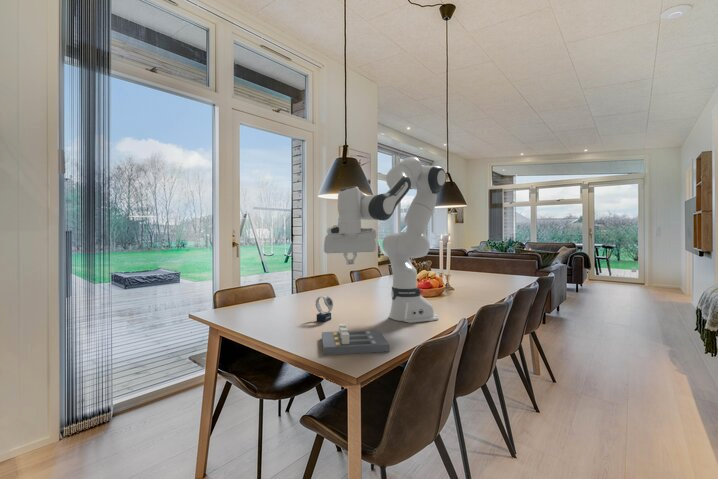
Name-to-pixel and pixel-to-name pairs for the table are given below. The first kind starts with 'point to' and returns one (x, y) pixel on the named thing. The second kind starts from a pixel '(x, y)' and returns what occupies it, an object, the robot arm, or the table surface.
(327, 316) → the watch
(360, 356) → the table surface
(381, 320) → the table surface
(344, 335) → the breaker handle
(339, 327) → the breaker handle far
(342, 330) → the breaker handle middle
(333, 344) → the breaker panel
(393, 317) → the robot arm
